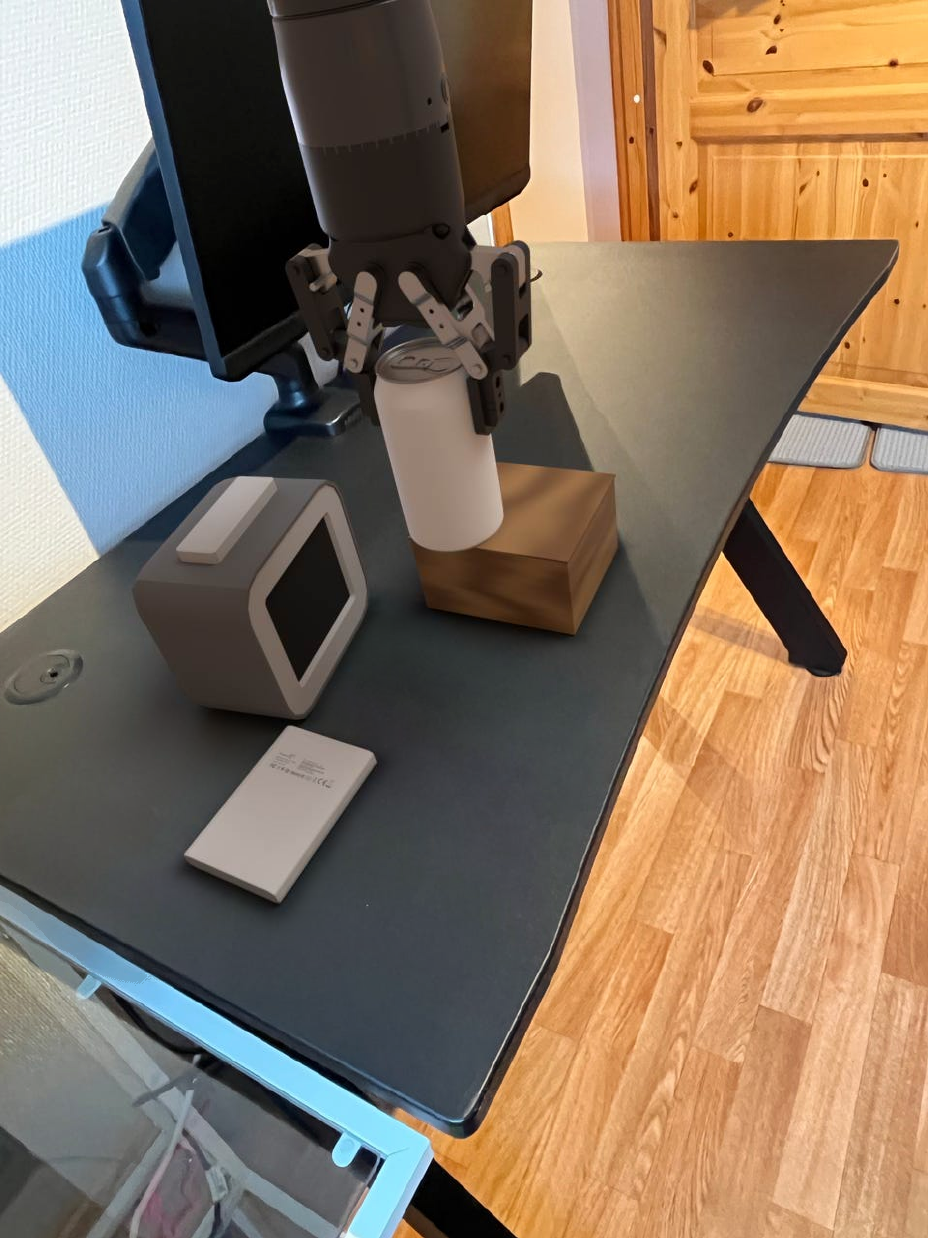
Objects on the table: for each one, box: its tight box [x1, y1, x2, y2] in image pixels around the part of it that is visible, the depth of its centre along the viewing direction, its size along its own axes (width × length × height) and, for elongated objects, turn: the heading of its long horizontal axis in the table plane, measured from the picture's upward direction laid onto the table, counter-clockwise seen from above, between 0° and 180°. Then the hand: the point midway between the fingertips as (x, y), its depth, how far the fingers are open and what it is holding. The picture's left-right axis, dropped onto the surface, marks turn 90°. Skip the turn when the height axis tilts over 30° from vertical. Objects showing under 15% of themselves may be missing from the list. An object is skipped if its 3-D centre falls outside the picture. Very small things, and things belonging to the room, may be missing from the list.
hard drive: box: [183, 725, 378, 905], centre depth 61 cm, size 2×8×12 cm
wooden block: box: [406, 461, 619, 636], centre depth 74 cm, size 14×12×8 cm
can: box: [374, 336, 503, 553], centre depth 52 cm, size 6×6×12 cm
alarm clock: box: [131, 475, 371, 721], centre depth 69 cm, size 16×11×16 cm
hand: (436, 423), depth 51 cm, fingers closed on can, 6 cm apart
